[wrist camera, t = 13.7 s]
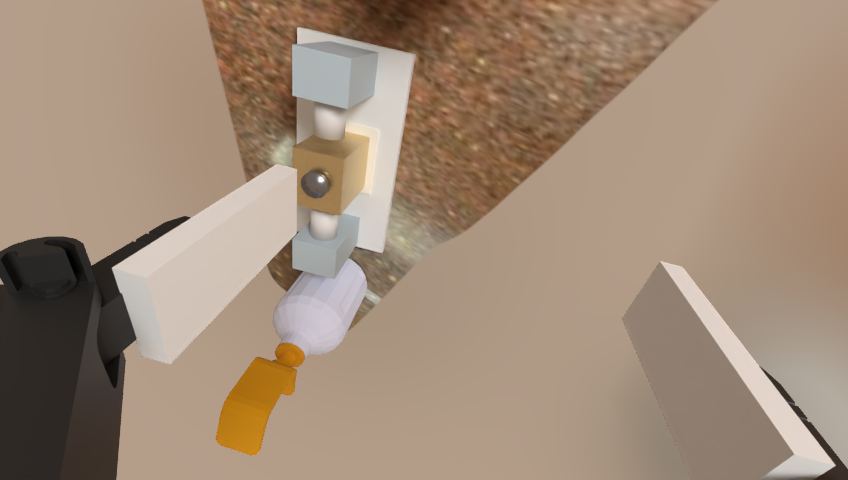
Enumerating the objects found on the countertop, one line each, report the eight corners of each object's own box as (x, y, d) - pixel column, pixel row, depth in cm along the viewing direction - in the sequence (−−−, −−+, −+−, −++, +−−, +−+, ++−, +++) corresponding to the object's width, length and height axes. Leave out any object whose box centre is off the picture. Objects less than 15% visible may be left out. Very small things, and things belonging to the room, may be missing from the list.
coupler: (324, 176, 44) (289, 207, 36) (326, 126, 41) (288, 149, 33) (364, 186, 43) (336, 219, 36) (369, 137, 40) (341, 162, 33)
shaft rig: (301, 27, 37) (251, 27, 29) (415, 54, 36) (394, 61, 29) (299, 227, 50) (263, 263, 42) (384, 249, 49) (363, 290, 41)
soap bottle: (306, 291, 55) (191, 451, 35) (312, 243, 51) (183, 395, 30) (362, 309, 55) (281, 480, 35) (373, 263, 51) (286, 429, 30)
